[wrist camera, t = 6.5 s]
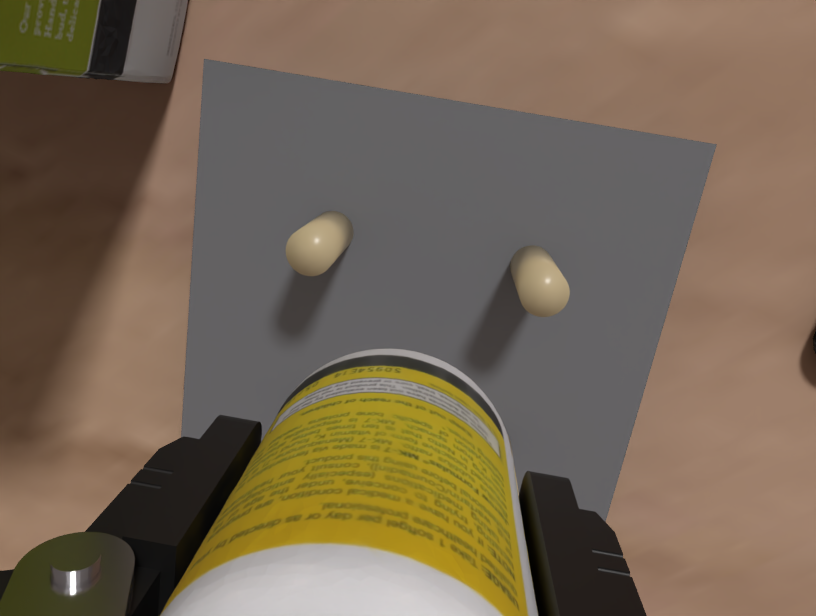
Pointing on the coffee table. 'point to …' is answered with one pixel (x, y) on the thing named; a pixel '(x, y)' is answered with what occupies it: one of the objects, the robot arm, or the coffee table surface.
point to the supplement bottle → (370, 503)
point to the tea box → (92, 38)
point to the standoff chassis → (435, 256)
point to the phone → (814, 342)
